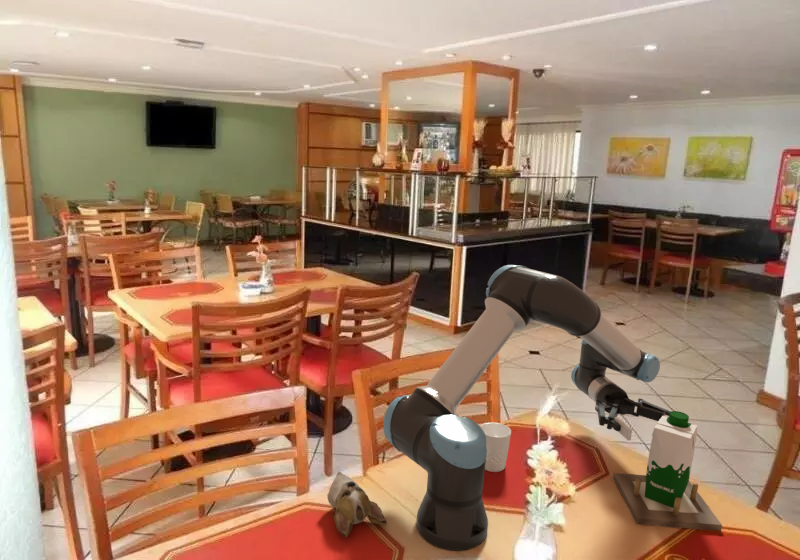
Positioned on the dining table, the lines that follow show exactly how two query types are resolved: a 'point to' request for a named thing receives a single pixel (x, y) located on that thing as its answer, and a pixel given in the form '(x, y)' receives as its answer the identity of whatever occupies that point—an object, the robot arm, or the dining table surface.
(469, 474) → the robot arm
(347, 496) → the ceramic sculpture
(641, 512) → the pin base plate
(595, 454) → the dining table surface
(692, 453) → the soya milk
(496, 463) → the white cup
